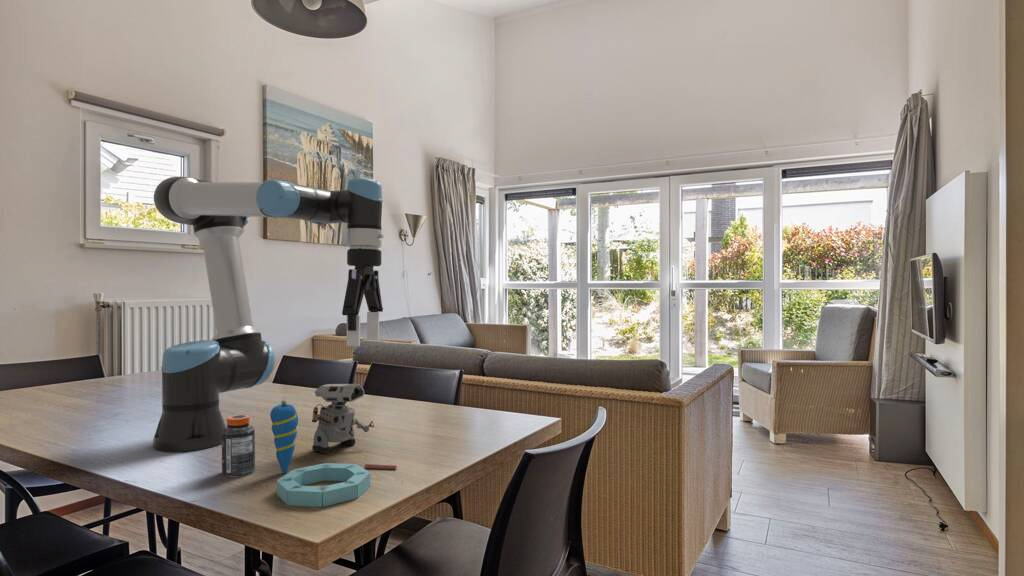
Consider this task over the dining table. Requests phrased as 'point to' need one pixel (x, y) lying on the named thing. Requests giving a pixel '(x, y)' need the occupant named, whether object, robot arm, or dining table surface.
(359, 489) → the teal octagonal ring
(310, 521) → the dining table surface
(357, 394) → the figurine
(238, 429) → the pill bottle
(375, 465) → the reddish pink rod
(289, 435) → the ornament
